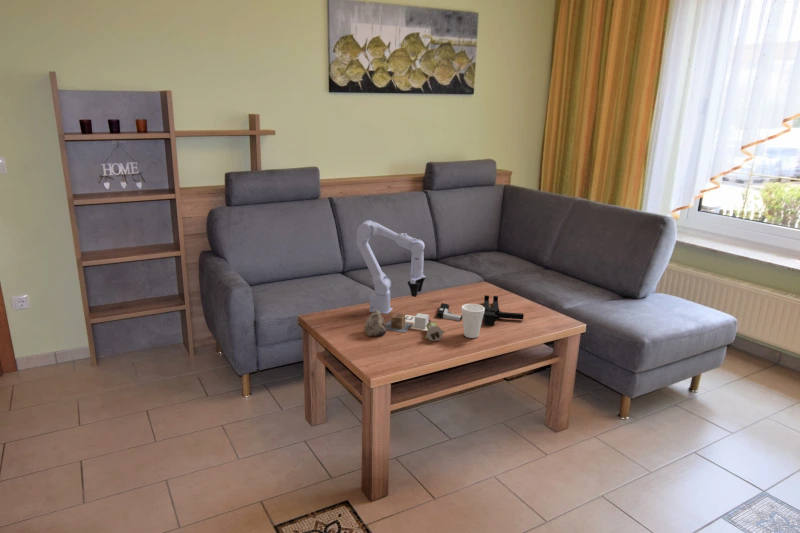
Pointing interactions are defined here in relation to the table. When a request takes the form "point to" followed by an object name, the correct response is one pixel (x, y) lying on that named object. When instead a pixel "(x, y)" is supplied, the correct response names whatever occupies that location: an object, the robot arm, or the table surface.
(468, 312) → the cup
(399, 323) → the walnut cube
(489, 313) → the toy
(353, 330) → the table surface
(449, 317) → the toy gun
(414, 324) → the code tile
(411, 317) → the code tile
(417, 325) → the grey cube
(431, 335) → the figurine
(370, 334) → the rock
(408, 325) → the slate mat
